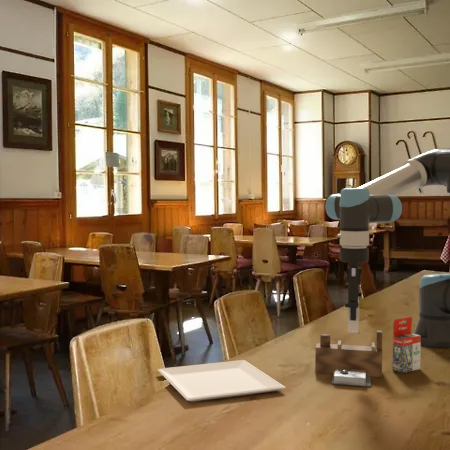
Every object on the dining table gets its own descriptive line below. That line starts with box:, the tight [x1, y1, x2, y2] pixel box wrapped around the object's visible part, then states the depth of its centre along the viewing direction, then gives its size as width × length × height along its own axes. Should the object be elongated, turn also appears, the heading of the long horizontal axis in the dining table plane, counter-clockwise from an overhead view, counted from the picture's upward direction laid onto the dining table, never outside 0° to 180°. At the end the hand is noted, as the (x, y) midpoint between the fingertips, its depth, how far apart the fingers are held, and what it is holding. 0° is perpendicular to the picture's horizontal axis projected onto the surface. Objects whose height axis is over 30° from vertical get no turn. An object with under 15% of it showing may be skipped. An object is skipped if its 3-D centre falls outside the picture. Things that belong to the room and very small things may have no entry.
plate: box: [157, 359, 286, 402], centre depth 161 cm, size 26×26×2 cm
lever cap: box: [334, 368, 366, 387], centre depth 163 cm, size 8×7×3 cm
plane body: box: [314, 329, 383, 378], centre depth 172 cm, size 18×5×12 cm, turn 77°
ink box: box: [391, 316, 422, 374], centre depth 174 cm, size 4×8×15 cm, turn 124°
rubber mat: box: [331, 373, 372, 388], centre depth 164 cm, size 10×8×1 cm
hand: (353, 326), depth 163 cm, fingers open, 13 cm apart
